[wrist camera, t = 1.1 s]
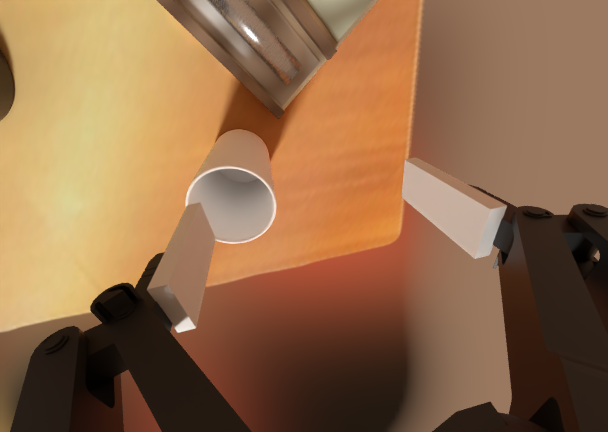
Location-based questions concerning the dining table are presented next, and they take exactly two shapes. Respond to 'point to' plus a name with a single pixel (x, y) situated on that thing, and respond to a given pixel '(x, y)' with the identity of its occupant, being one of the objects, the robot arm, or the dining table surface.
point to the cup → (236, 187)
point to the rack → (288, 27)
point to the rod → (259, 37)
